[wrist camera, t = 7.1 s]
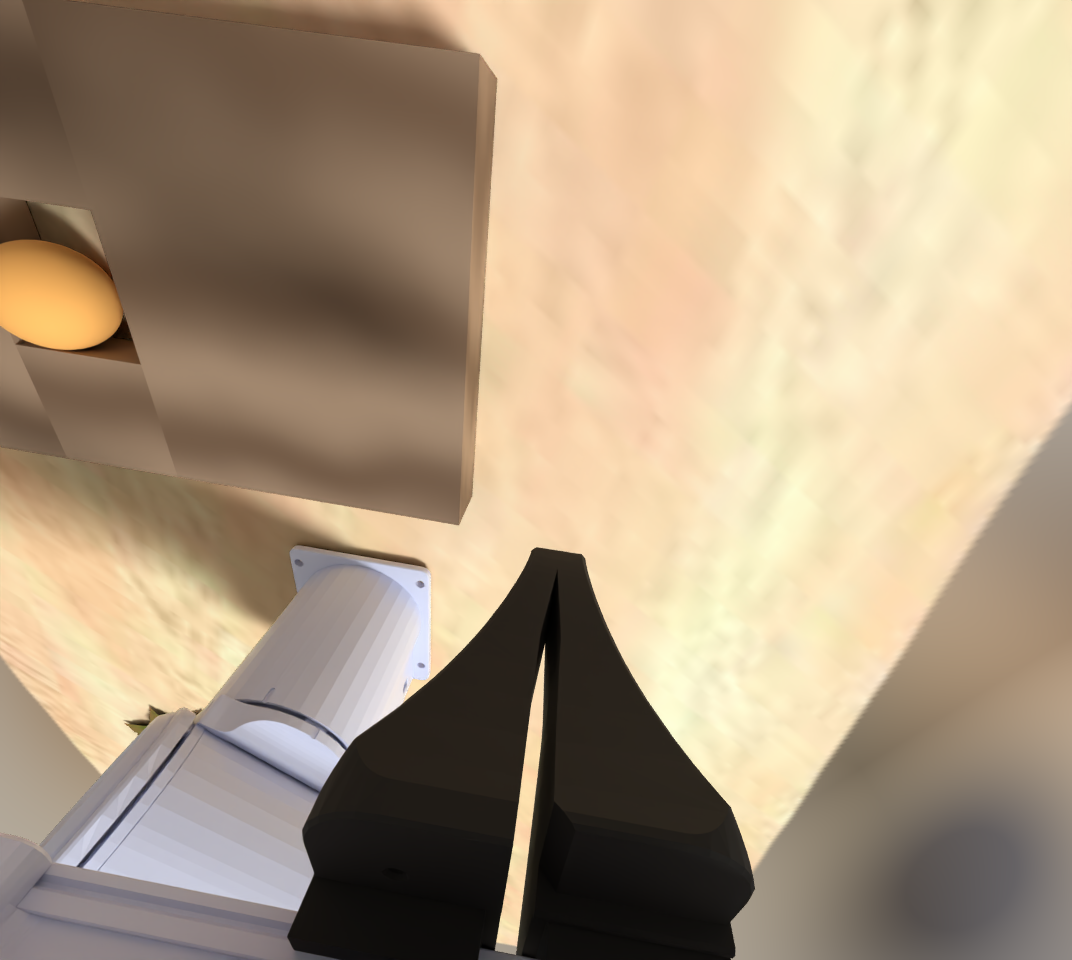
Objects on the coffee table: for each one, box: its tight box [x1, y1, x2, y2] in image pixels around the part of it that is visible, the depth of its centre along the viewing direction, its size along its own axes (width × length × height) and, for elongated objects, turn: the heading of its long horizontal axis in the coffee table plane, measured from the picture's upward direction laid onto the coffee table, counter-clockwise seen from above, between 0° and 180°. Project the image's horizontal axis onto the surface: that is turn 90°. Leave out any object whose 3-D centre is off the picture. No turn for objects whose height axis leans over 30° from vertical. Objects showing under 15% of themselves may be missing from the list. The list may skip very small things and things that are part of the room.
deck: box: [0, 0, 497, 525], centre depth 18 cm, size 16×22×2 cm
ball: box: [0, 240, 123, 350], centre depth 18 cm, size 4×4×4 cm
